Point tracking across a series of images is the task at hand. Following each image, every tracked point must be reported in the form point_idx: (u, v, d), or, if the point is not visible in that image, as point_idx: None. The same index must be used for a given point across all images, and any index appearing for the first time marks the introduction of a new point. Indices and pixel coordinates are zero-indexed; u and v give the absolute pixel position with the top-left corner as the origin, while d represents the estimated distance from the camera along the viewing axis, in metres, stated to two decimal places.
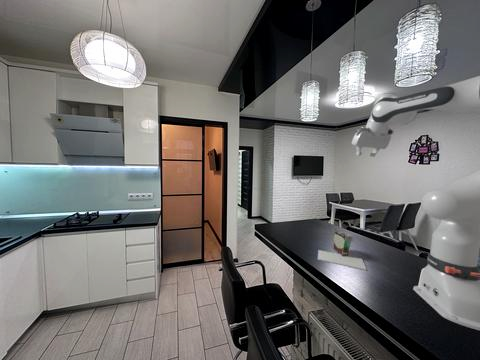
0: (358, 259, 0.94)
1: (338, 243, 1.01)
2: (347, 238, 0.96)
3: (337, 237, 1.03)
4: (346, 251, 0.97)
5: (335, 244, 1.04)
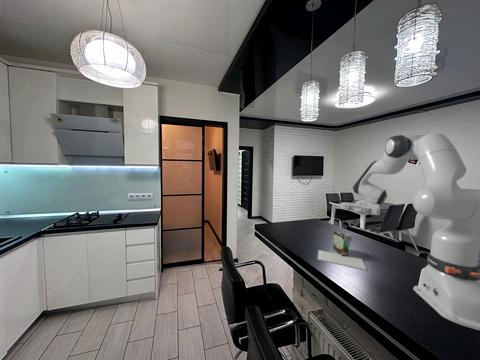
0: (358, 259, 0.94)
1: (337, 243, 1.01)
2: (346, 238, 0.96)
3: (336, 237, 1.03)
4: (346, 251, 0.97)
5: (335, 244, 1.04)
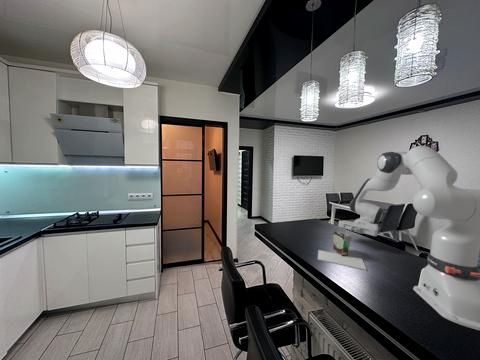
0: (358, 259, 0.94)
1: (337, 243, 1.01)
2: (346, 238, 0.96)
3: (336, 237, 1.03)
4: (346, 251, 0.97)
5: (335, 244, 1.04)
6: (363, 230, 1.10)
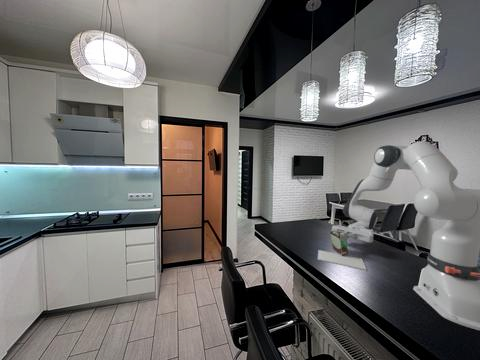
0: (358, 259, 0.94)
1: (336, 243, 1.01)
2: (342, 238, 0.96)
3: (333, 237, 1.03)
4: (345, 250, 0.97)
5: (333, 244, 1.04)
6: (357, 236, 1.03)
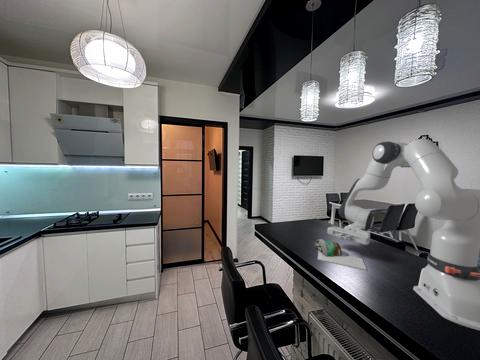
0: (358, 259, 0.94)
1: None
2: (324, 253, 0.96)
3: None
4: (337, 251, 0.97)
5: None
6: (353, 238, 1.00)
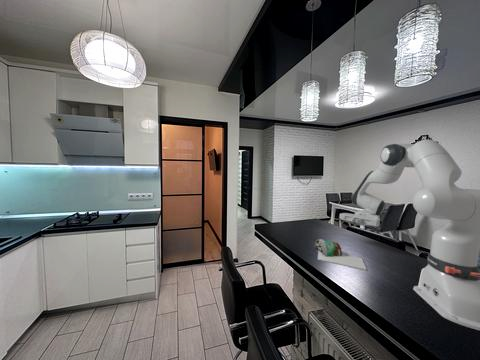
0: (358, 259, 0.94)
1: None
2: (324, 253, 0.96)
3: None
4: (337, 251, 0.97)
5: None
6: (364, 221, 1.09)
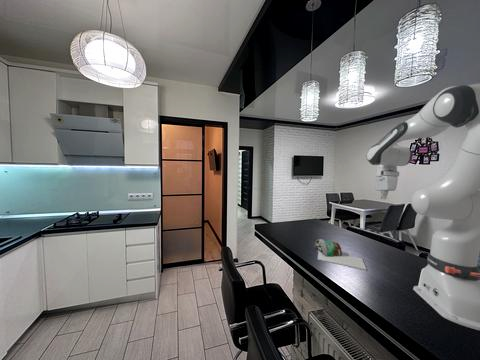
0: (358, 259, 0.94)
1: None
2: (324, 253, 0.96)
3: None
4: (337, 251, 0.97)
5: None
6: None
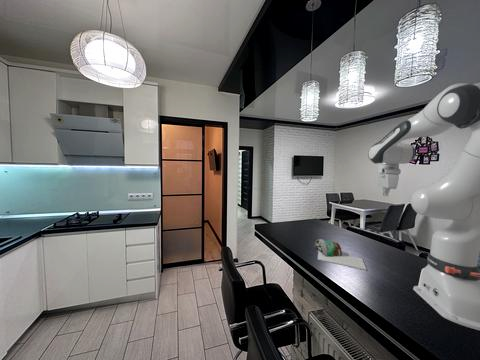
0: (358, 259, 0.94)
1: None
2: (324, 253, 0.96)
3: None
4: (337, 251, 0.97)
5: None
6: None
